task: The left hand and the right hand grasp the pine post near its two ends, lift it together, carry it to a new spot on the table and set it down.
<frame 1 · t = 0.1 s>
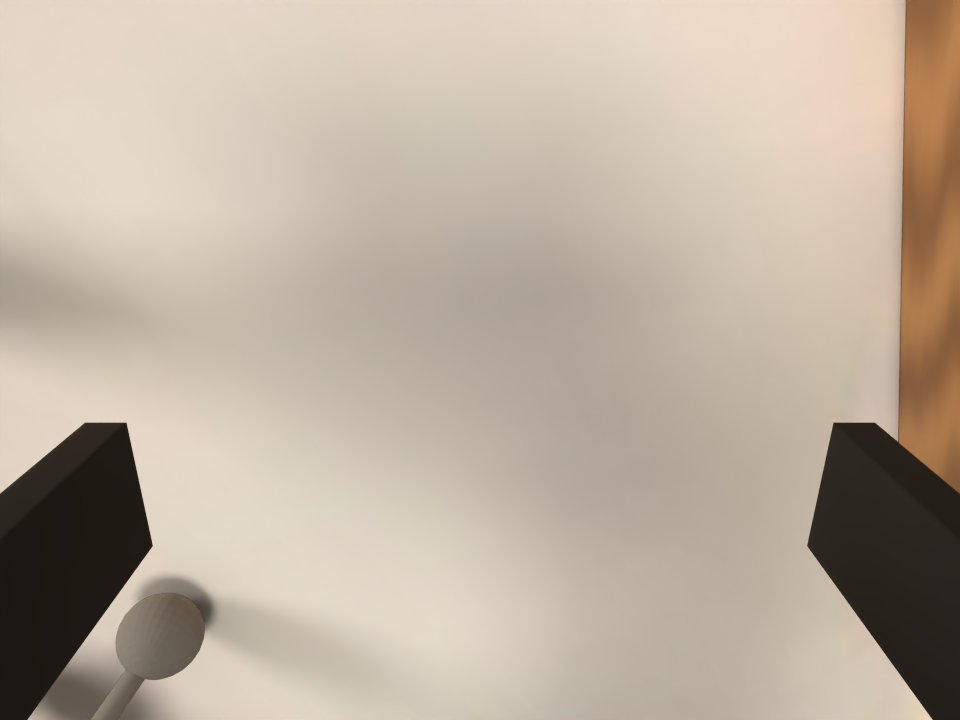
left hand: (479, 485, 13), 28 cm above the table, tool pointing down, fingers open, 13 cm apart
post: (950, 166, 38), on the table
molecular model: (127, 674, 51), on the table
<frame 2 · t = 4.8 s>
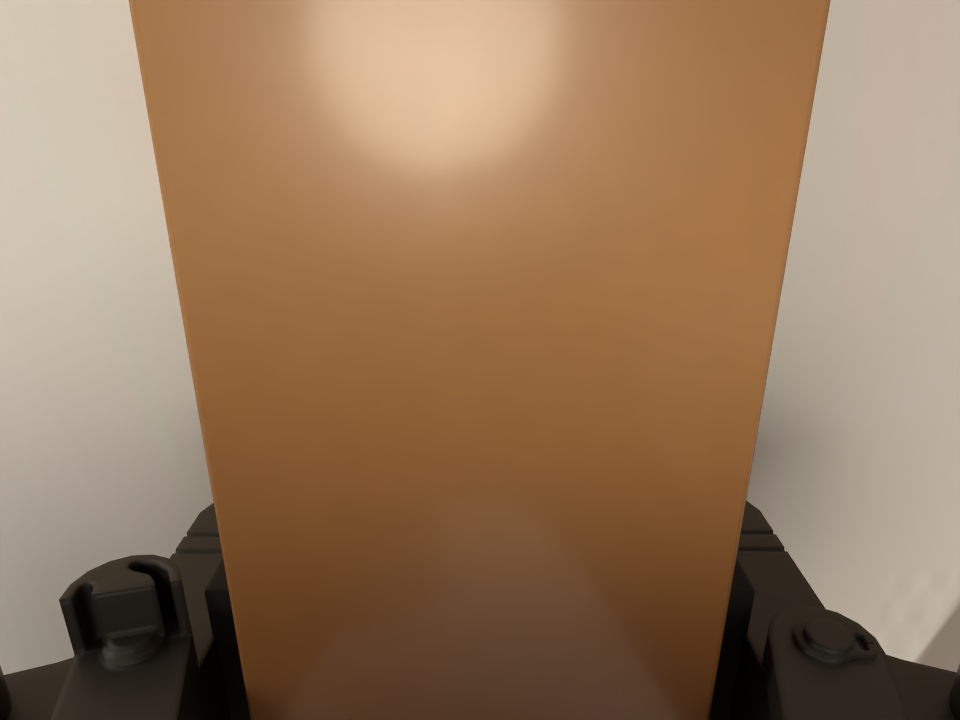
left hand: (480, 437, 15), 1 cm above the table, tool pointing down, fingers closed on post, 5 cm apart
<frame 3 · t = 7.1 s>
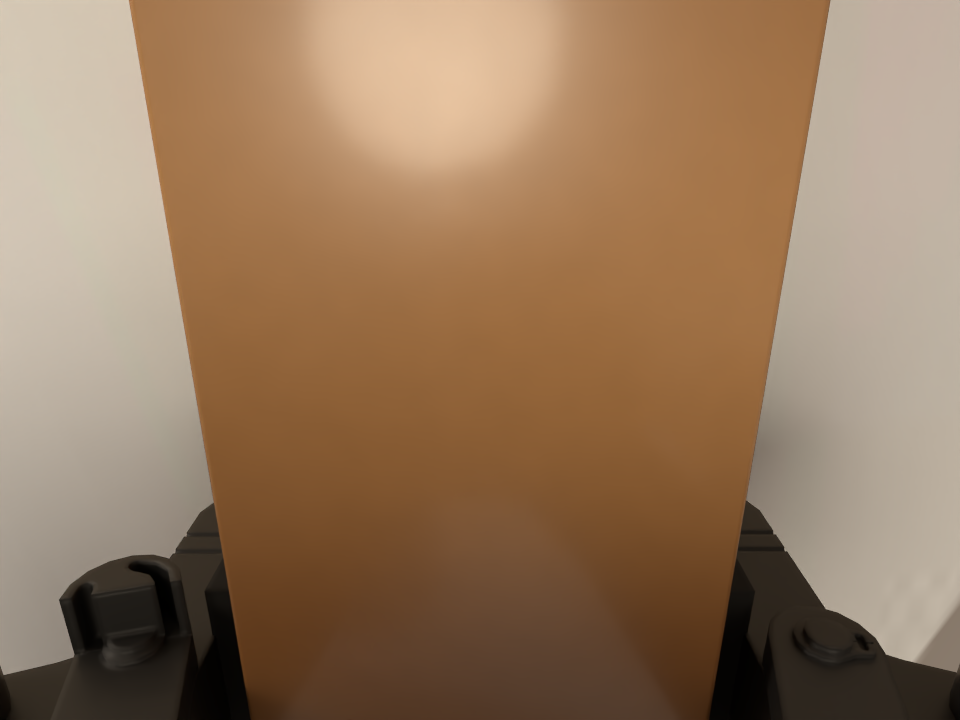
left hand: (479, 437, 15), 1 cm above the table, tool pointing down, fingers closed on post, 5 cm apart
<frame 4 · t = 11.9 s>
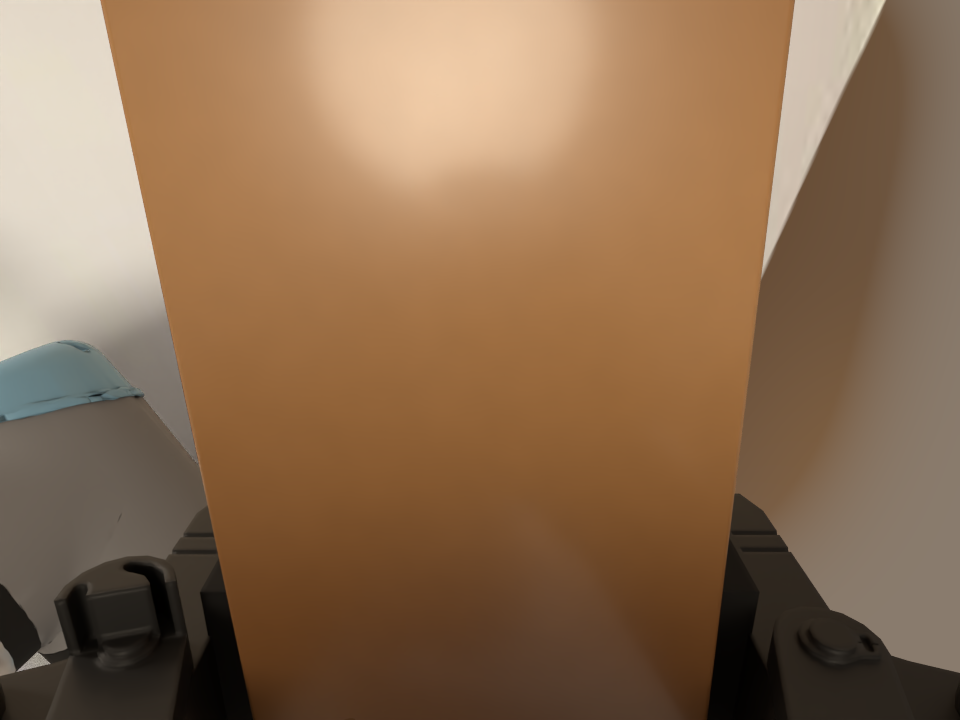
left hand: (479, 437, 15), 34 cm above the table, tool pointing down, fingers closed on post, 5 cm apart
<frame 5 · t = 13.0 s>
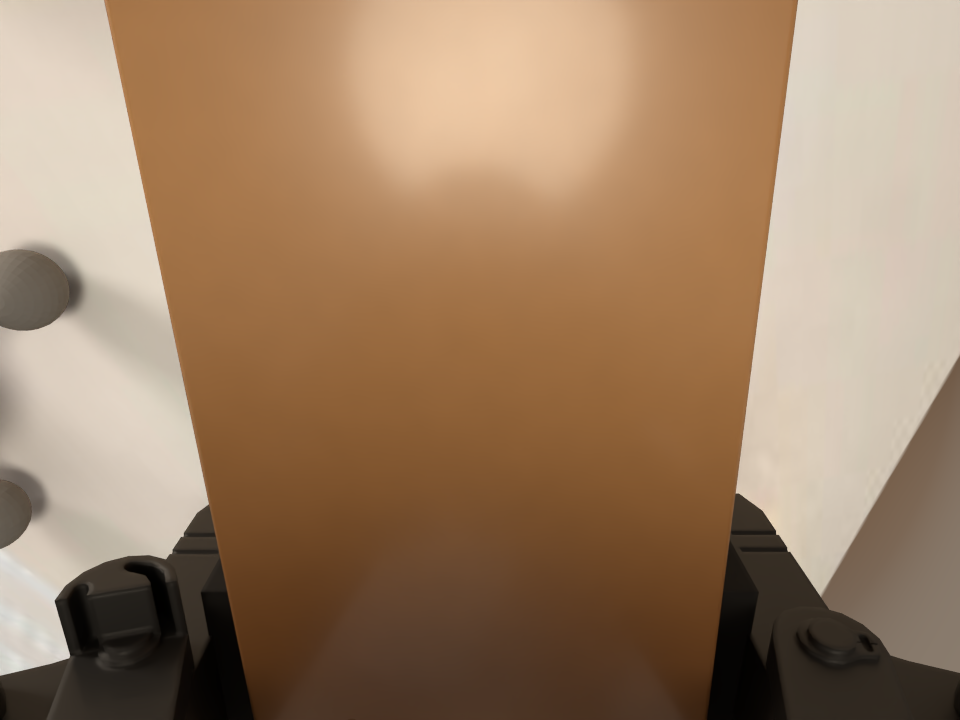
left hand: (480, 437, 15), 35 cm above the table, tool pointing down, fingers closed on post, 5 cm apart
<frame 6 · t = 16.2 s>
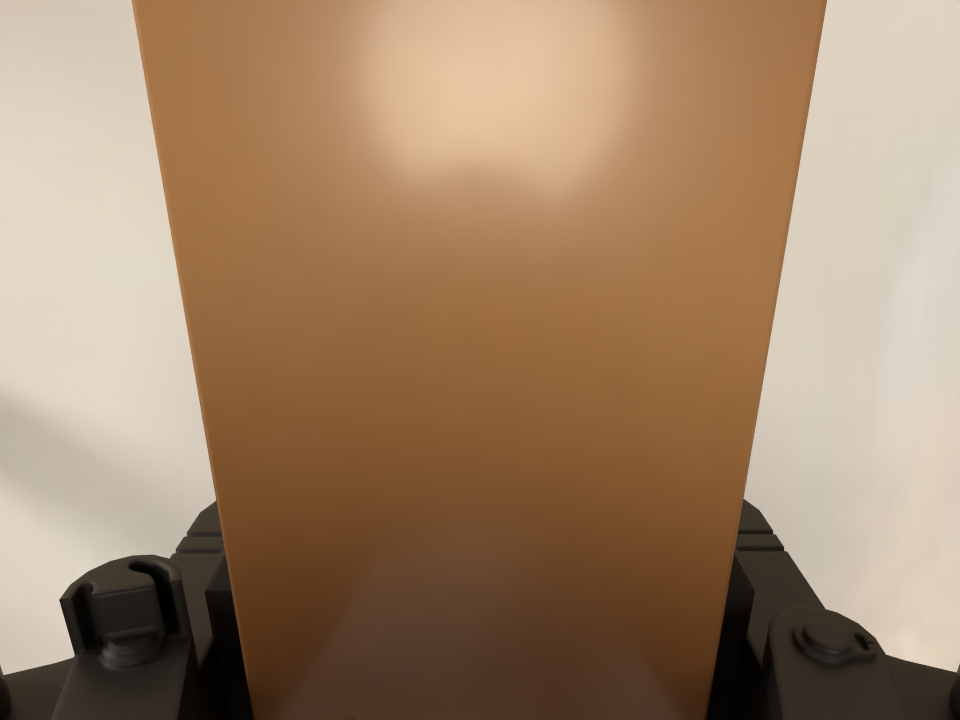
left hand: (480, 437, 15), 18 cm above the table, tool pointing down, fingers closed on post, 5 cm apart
when the left hand's fingers open (2 cm above the table, at t = 18.9 s): post drops 2 cm, on the table.
when the right hand's fingers open (2 cm above the table, at t = 18.9 s): post drops 2 cm, on the table.
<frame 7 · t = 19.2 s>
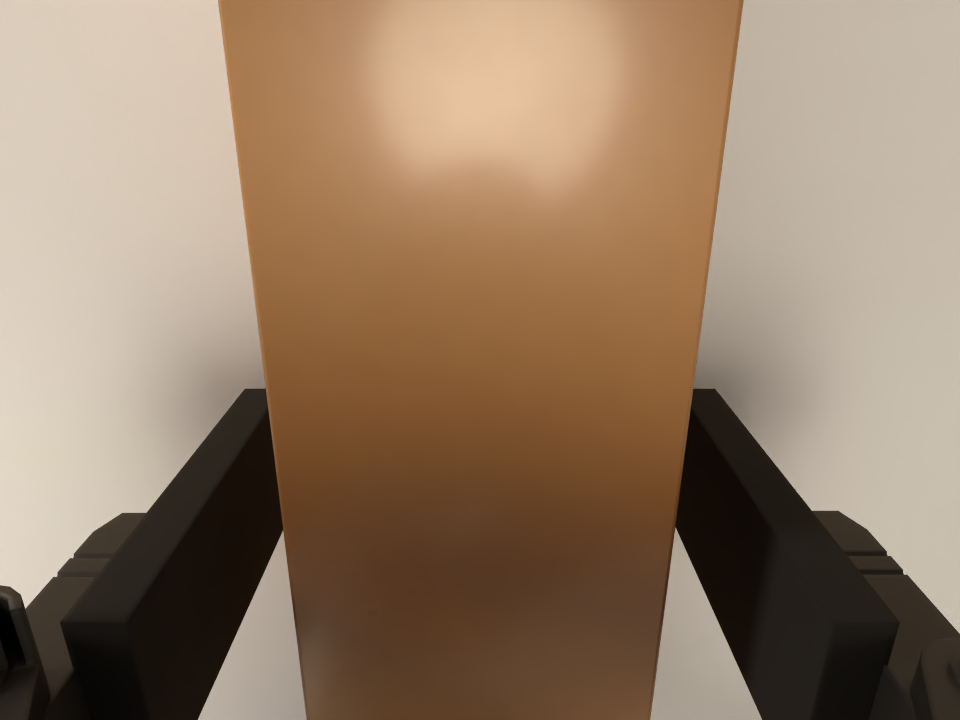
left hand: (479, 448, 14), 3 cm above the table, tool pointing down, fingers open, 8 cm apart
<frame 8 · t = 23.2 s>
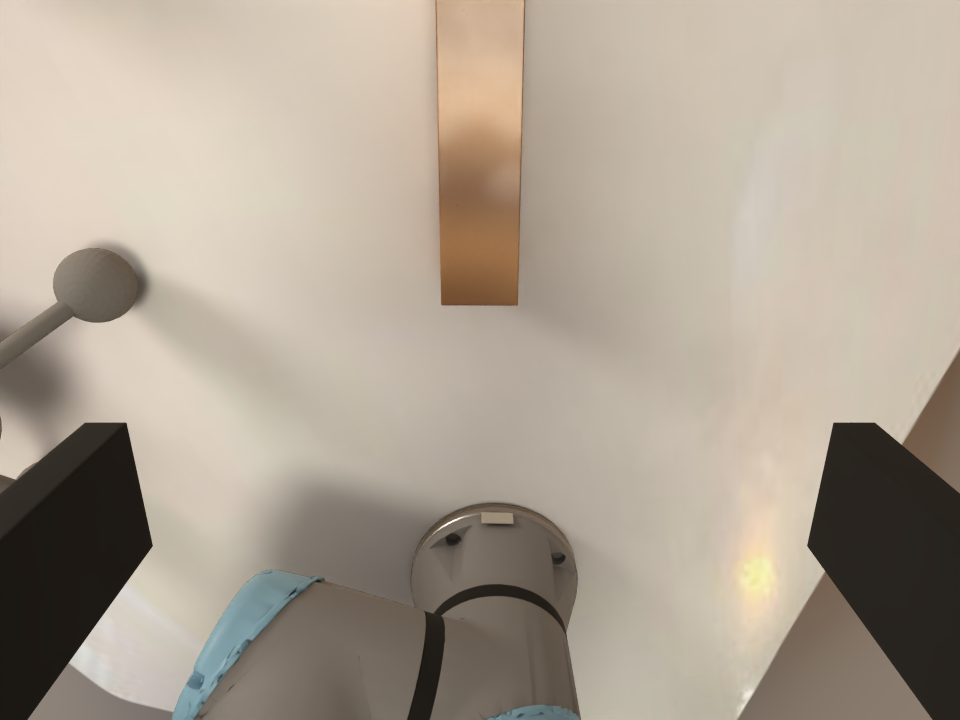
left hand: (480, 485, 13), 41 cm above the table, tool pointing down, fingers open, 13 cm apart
molecular model: (52, 340, 55), on the table
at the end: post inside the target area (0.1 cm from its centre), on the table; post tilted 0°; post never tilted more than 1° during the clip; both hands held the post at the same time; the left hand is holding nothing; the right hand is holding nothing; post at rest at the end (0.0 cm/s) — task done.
